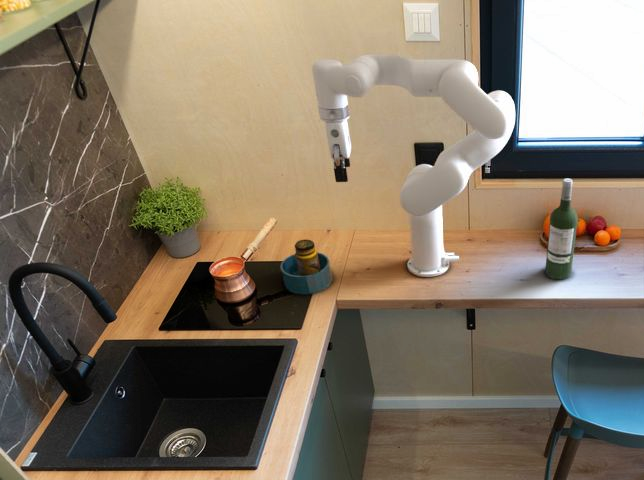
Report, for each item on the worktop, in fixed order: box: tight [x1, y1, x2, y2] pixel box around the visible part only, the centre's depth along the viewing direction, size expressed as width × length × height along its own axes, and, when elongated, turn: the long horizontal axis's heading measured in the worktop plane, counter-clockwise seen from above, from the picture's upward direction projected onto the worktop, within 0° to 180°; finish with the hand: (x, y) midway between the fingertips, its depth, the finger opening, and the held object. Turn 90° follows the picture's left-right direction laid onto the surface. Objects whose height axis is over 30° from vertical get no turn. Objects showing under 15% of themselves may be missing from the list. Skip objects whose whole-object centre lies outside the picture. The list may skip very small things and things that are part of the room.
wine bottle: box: [544, 177, 579, 280], centre depth 172 cm, size 8×8×30 cm
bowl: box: [280, 251, 333, 295], centre depth 172 cm, size 13×13×6 cm
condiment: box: [294, 239, 321, 276], centre depth 170 cm, size 7×8×12 cm
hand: (343, 174), depth 166 cm, fingers open, 9 cm apart
